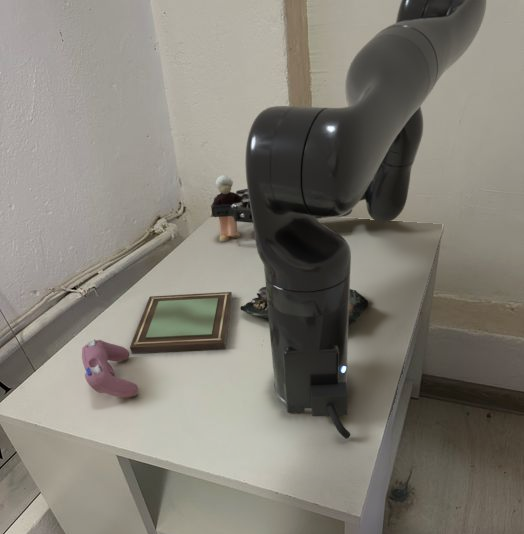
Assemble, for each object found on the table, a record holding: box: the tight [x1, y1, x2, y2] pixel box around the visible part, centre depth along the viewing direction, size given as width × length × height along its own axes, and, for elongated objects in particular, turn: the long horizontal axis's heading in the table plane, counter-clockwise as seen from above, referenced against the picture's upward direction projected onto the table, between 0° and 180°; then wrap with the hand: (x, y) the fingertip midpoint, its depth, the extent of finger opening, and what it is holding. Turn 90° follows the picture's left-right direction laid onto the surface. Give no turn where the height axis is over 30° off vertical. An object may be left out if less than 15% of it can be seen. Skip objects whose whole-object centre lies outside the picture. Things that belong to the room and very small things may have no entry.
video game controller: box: [81, 338, 140, 398], centre depth 65 cm, size 10×5×7 cm, turn 21°
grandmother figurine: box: [208, 174, 242, 242], centre depth 97 cm, size 8×4×13 cm, turn 129°
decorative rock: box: [239, 286, 369, 325], centre depth 75 cm, size 19×6×15 cm
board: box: [129, 291, 233, 355], centre depth 76 cm, size 14×14×1 cm
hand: (213, 207), depth 97 cm, fingers closed on grandmother figurine, 3 cm apart
